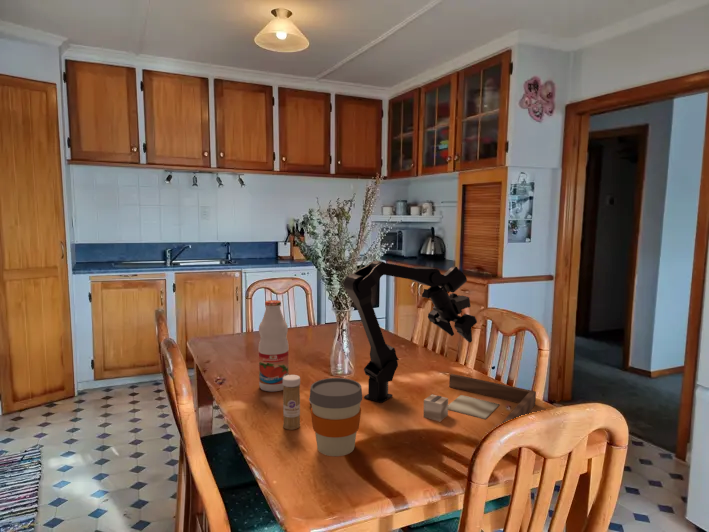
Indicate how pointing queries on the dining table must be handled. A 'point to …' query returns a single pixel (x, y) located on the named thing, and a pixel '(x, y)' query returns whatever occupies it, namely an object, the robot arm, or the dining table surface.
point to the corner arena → (490, 389)
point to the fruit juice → (273, 348)
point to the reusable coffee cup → (335, 414)
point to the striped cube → (435, 407)
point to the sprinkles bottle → (291, 402)
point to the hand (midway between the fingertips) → (461, 338)
